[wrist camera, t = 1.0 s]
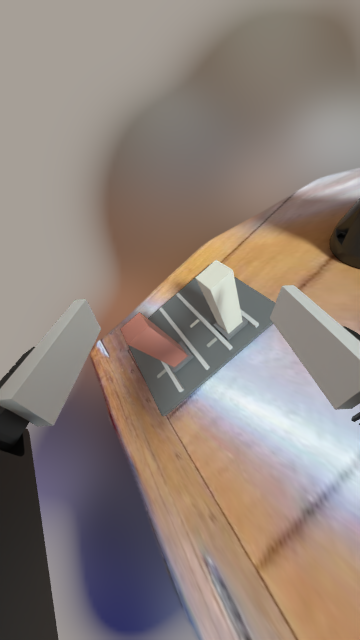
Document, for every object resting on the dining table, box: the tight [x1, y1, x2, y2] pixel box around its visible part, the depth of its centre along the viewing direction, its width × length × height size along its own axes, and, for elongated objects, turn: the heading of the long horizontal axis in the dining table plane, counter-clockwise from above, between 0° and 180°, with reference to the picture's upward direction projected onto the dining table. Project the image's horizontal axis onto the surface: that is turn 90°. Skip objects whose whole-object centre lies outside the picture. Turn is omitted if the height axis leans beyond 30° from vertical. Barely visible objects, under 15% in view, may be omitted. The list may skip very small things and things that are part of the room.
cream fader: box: [196, 260, 248, 340], centre depth 26 cm, size 5×4×15 cm
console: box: [128, 263, 275, 416], centre depth 36 cm, size 30×21×2 cm
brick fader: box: [120, 312, 194, 373], centre depth 27 cm, size 5×4×15 cm
